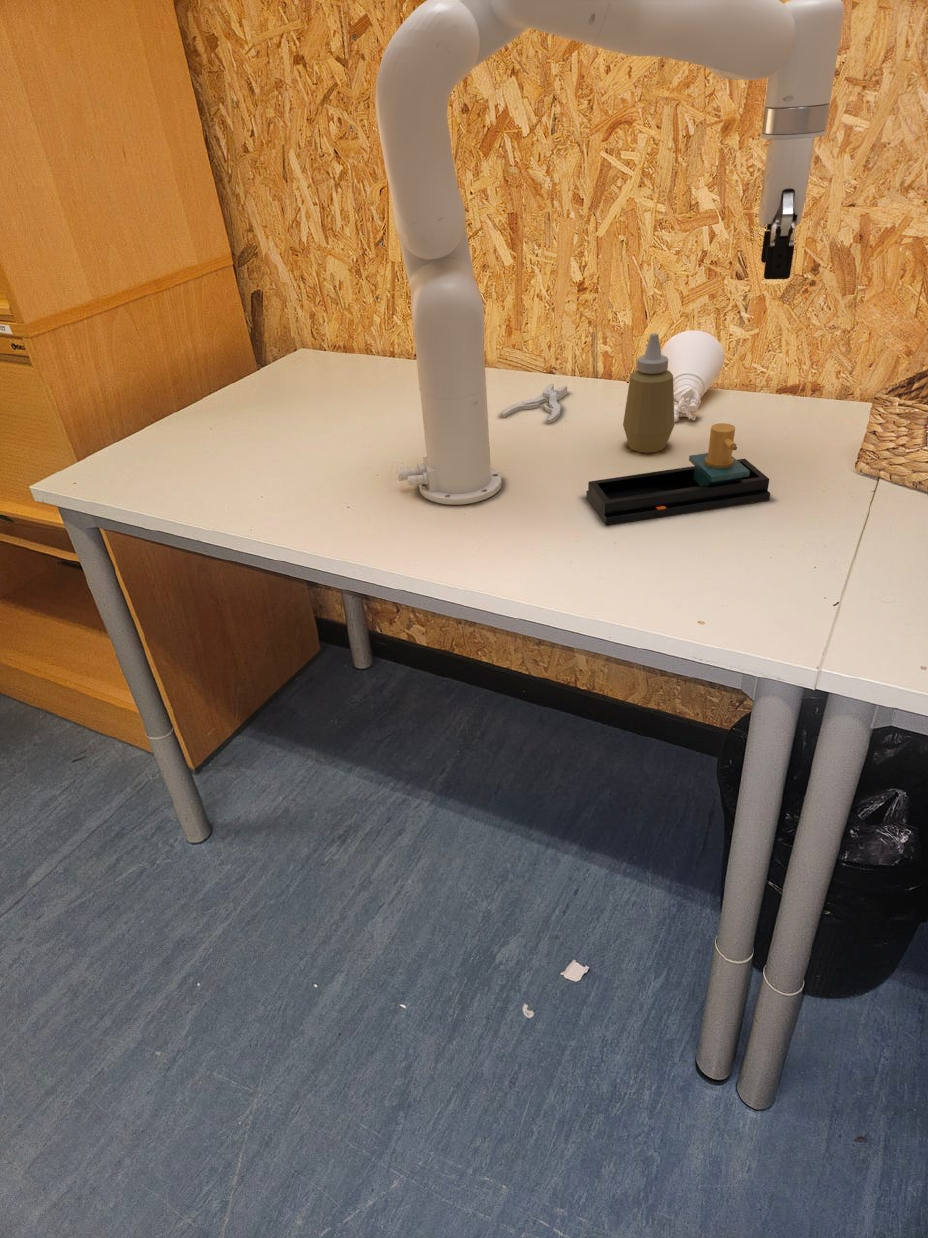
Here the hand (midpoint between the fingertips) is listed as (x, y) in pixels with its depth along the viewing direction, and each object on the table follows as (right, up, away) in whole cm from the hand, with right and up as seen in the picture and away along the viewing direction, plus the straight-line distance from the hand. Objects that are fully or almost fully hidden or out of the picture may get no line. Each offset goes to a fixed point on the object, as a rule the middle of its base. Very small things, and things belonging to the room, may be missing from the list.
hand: (774, 269), depth 111 cm
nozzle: (-6, -28, +7) cm, 29 cm away
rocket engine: (-3, -9, +37) cm, 38 cm away
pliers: (-27, -8, +41) cm, 50 cm away
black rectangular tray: (-12, -30, +7) cm, 33 cm away
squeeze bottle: (-12, -19, +23) cm, 32 cm away
